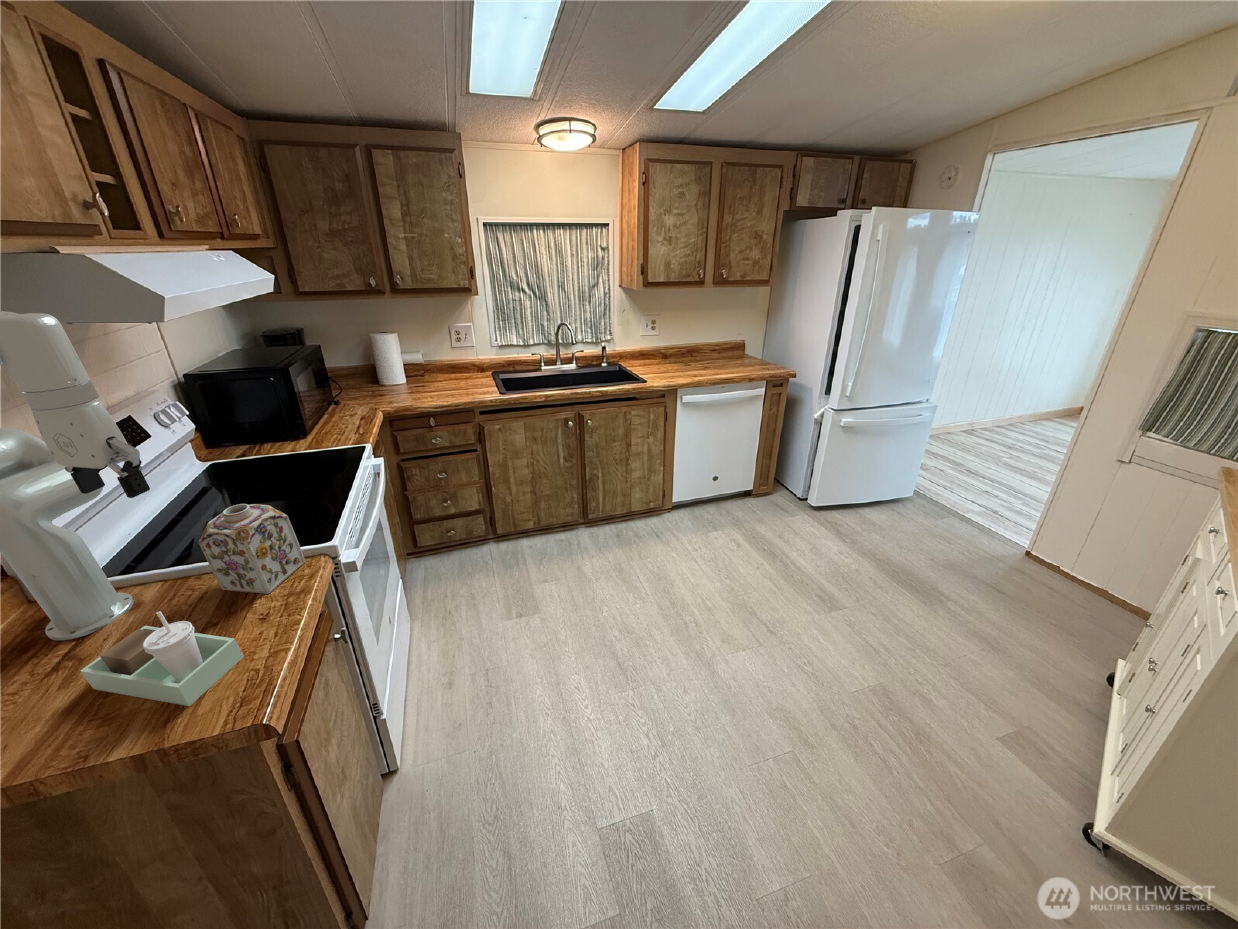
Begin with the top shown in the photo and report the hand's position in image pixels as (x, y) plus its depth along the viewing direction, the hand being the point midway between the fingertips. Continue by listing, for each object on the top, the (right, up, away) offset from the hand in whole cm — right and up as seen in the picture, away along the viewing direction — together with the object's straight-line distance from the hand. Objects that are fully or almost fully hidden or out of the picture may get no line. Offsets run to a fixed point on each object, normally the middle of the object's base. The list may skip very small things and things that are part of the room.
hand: (116, 491), depth 82 cm
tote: (+8, -32, +2) cm, 33 cm away
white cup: (+12, -32, +1) cm, 34 cm away
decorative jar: (+6, -21, +26) cm, 34 cm away
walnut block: (+3, -32, +3) cm, 32 cm away
